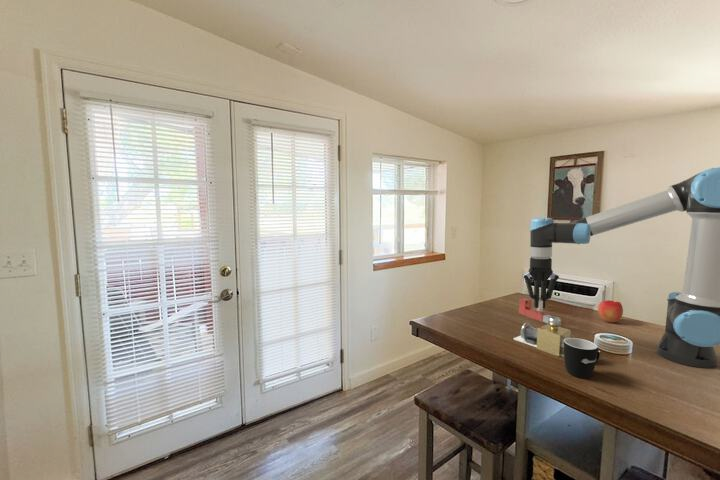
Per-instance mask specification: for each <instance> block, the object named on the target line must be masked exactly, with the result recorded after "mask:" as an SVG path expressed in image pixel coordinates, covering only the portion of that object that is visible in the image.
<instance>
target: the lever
mask: <svg viewBox="0 0 720 480" xmlns="http://www.w3.org/2000/svg"><path fill="white" fill-rule="evenodd" d="M518 299H519V300H518V301H519V302H518V313H519V314H520V315H523V316H525V317H527V318H530V319H532V320H536V321H539V322H541V323H545V324H549V325H551V326H558V327H561V325H562V322H561V321H562V318H561V317H558V316H554V315H550V314H548V313H547V312H544V311H543V312H541V311H538V310H537V309H535V308H531V305H532V299H529V298H526V297H524V298H523V297H522V298H518Z"/></svg>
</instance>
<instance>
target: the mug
mask: <svg viewBox="0 0 720 480" xmlns="http://www.w3.org/2000/svg"><path fill="white" fill-rule="evenodd" d="M598 348H599V347H598V345H597V343H595V342H592V341H590V340H588V339H583V338H576V337H570V338H567V339H565V340H564V357H563V358H564V359H563V361H564V365H565V366H564V367H565V370H566V372H567V373H568V374H569V375H570V376H572V377H576V378H579V379H589V378H591V377H592V375H594V371H595V368H596V364H597V363H598V362H599V359H600V357H601V356H600V354H601V353H599V351H600V350H599V349H598Z"/></svg>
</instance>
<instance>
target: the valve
mask: <svg viewBox="0 0 720 480" xmlns="http://www.w3.org/2000/svg"><path fill="white" fill-rule="evenodd" d="M519 332H520V334H519V336H520V335H521V337H522V338H523V339H526V342H527V343H530V344H532V345H534V344H537V347H536V349H537V350H538V351H542V352H544V353H548V354H551V355H552V356H553V355H554V356H556V357H561V356H560V355H561V354H563V353H564V340H565V339H567V338H571V332H572V331H571V329H568V328H565V327H561V326H551V325H549V324H548V323H546V324H544V325H542V326H540V327H534V326H532V324H531V323H530V322H523V324H522V325H521V328H520V331H519Z"/></svg>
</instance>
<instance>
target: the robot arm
mask: <svg viewBox="0 0 720 480" xmlns="http://www.w3.org/2000/svg"><path fill="white" fill-rule="evenodd" d="M675 211H676V212H677V211H678V212H681V213H683V212H685V213H686V214H687V215H688V216H689V217H691V227H690V233H689V240H688V241H689V242H688V247H687V248H688V249H687V255H686V256H687V257H686V264H685V272H684V279H683V287H682V288H683V289H682V292H679V291H678V292H676V291H672V292H670V293H669V294H668V296H667V297H668V298H667V299H666V300H667V307H666V317H665V318H666V319H665V331H664V333H663V335H662V337H661V339H660V340H659V341H658V344H657V346H656V353H657V354H658V355H660V357H662V358H665V359H667V360H669V361H671V362H675V363H678V364H681V365H685V366H690V367H695V368H702V369H703V368H705V369H709V368H711V369H712V368H716V367H717V365H718V356H717V352H716V349H715V346H719V345H720V166H719V167H711V168H708V169H706V170H703V171H700V172H699V173H696V174H695V175H692V176H691V177H689V178H687V179H685V180H683V181H680V182H678V183H675V184H673V185H670V186H668V188H667V189H666V190H664V191H660V192H657V193H655V194H651V195H650V196H646V197H643V198H639V199H637V200H634V201H631V202H629V203H624V204H622V205H619V206H616V207H613V208H610V209H607V210H604V211H601V212H598V213H594V214H592V215H589V216H586V217H584V218H580V219H578V220H573V221H570V222H569V223H568V222H567V223H565V222H564V223H563V222H561V223H558V222H554V221H553V218H552V217H536V218H532V219H531V222H530V230H529V232H530V249H529V256H530V258H529V269H528V272H526V273H523V274H522V277H523V279H524V281H525V284H526V285H525V286H526V288H527V292H528V293H527V294H528V296H529V298H531V300H532V299H533V301H534V302H533V303H534V305H533V306H534V309H535V308H536V310H538V311H541V312H544V311H543V309H545V308H546V301H547V300H551V298H552V295H553V292H554V290H555V289H554V288H555V285H556V284H557V281H558V279H559V278H560V276H559V275H558V274H555V273H554V272H553V269H552V268H553V267H552V263H553V261H552V260H553V259H552V258H551V257H553V243H554V244H576V245H582V244H583V245H586V244H589V243H590V242H591V237H592V236H595V235H596V236H597V235H598V234H603V233H605V232H609V231H613V230H615V229H619V228H622V227H625V226H629V225H632V224H635V223H639V222H642V221H646V220H648V219H652V218H655V217H656V218H657V217H658V216H663V215H667V214H668V213H669V214H670V213H673V212H675ZM531 278H532V279H533V286H532V282H531V280H530V279H531ZM549 278H550V280H549ZM548 280H549V283H548ZM547 283H548V287H547Z"/></svg>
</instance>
